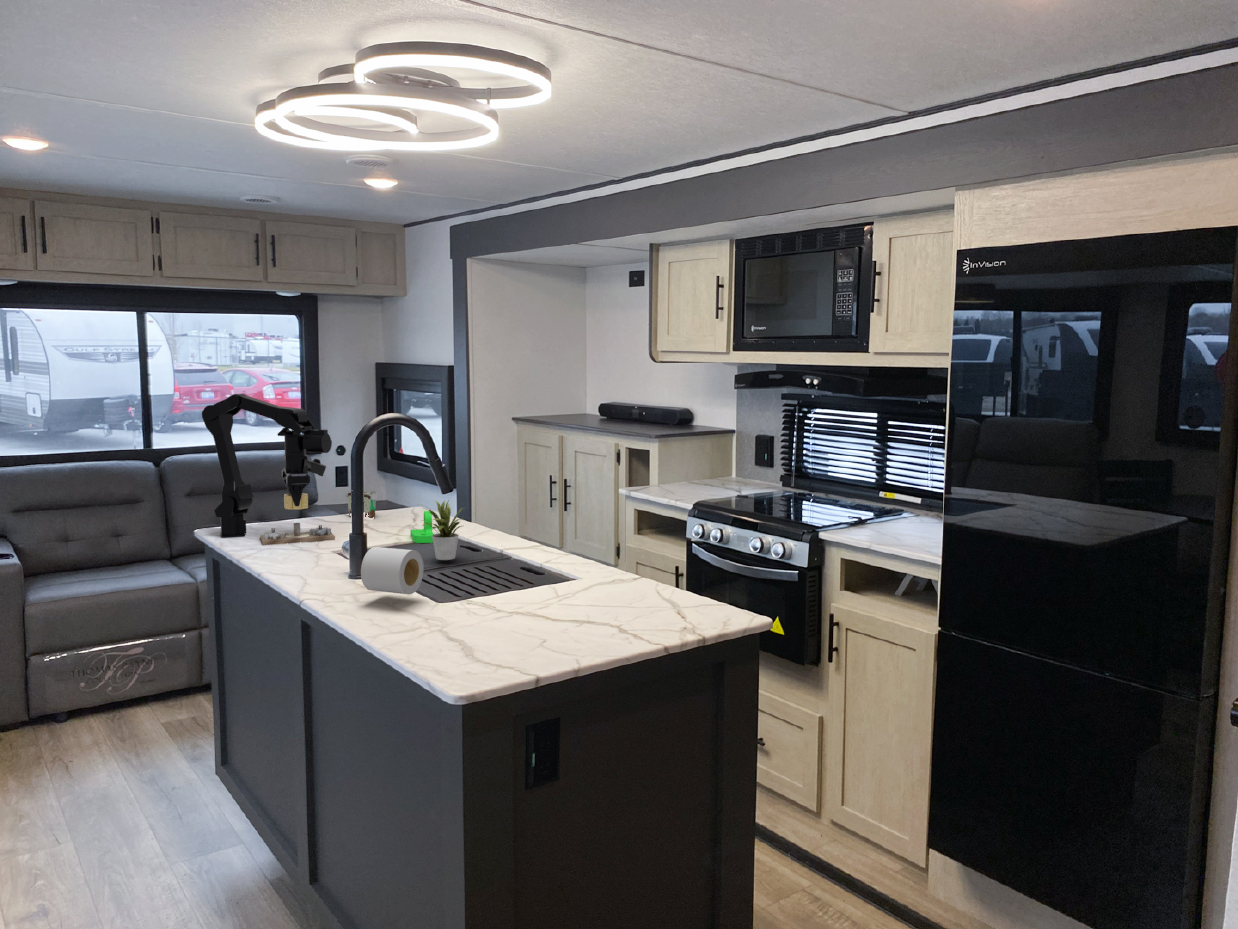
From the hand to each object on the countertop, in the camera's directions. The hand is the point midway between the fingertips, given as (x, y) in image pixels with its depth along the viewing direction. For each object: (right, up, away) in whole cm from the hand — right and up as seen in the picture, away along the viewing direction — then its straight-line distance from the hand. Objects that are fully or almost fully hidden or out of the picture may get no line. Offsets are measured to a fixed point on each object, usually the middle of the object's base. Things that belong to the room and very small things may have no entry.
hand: (295, 504), depth 268 cm
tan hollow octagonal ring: (0, -1, 0) cm, 1 cm away
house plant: (+47, -14, -21) cm, 53 cm away
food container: (+11, -7, +36) cm, 38 cm away
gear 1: (-6, -10, -1) cm, 12 cm away
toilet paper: (+43, -18, -59) cm, 75 cm away
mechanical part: (+36, -11, +6) cm, 38 cm away
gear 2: (+6, -9, +5) cm, 12 cm away
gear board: (0, -11, +2) cm, 11 cm away
